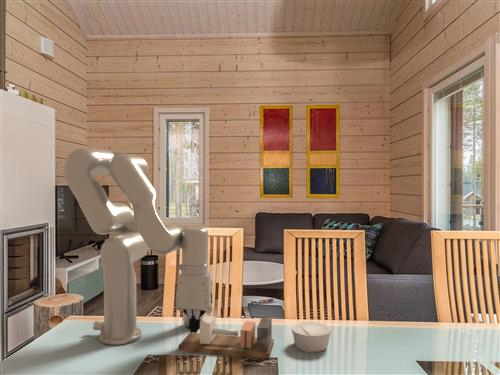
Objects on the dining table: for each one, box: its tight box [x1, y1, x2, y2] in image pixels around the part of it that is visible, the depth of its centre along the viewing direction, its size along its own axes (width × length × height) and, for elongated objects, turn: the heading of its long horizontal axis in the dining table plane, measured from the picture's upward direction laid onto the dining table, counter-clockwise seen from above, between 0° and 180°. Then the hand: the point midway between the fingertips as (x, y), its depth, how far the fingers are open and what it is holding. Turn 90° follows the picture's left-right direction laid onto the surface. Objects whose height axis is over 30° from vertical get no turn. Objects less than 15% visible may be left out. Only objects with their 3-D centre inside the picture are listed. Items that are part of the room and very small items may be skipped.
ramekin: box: [291, 321, 332, 353], centre depth 122 cm, size 11×11×5 cm
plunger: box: [199, 315, 239, 344], centre depth 121 cm, size 10×6×6 cm, turn 80°
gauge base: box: [178, 317, 275, 360], centre depth 121 cm, size 26×10×8 cm, turn 80°
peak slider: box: [239, 320, 256, 350], centre depth 119 cm, size 3×8×5 cm, turn 170°
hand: (194, 331), depth 123 cm, fingers closed
